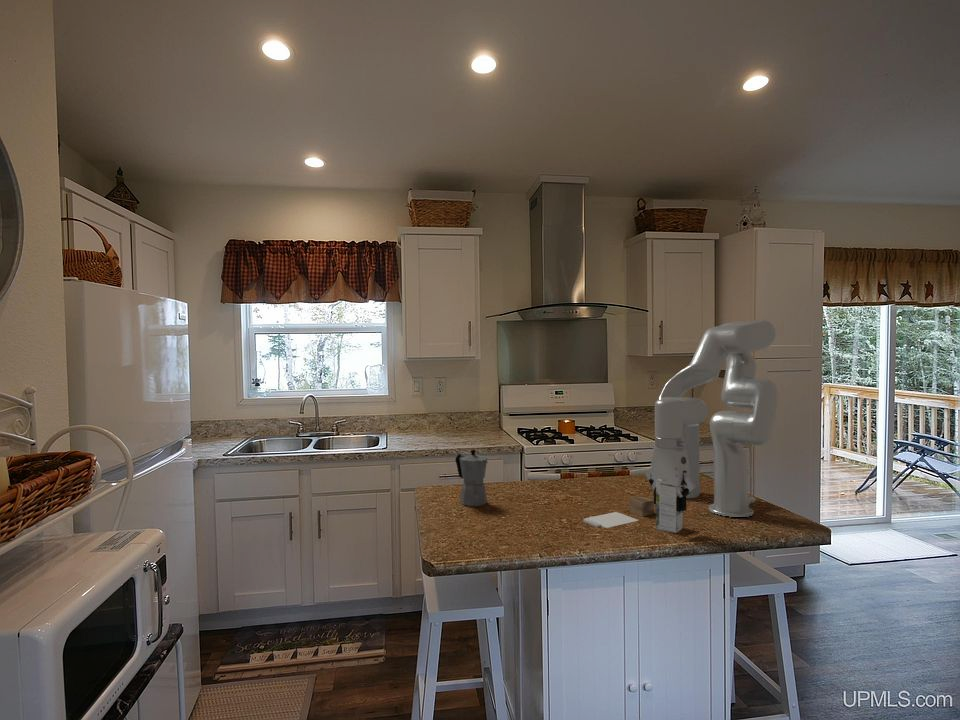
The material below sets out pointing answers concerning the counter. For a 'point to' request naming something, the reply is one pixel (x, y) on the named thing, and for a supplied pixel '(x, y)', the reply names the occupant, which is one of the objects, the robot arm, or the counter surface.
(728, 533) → the counter surface
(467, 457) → the coffeepot
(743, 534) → the counter surface
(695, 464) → the cylinder vase
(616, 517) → the clipboard
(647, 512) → the walnut block
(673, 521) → the syrup box
